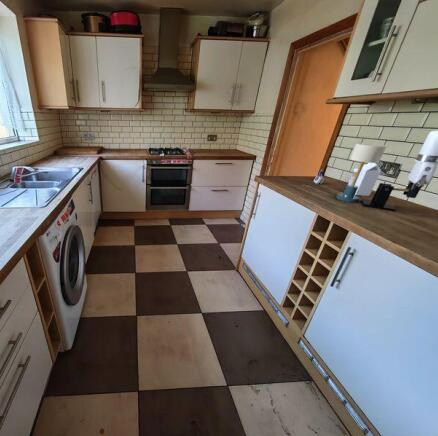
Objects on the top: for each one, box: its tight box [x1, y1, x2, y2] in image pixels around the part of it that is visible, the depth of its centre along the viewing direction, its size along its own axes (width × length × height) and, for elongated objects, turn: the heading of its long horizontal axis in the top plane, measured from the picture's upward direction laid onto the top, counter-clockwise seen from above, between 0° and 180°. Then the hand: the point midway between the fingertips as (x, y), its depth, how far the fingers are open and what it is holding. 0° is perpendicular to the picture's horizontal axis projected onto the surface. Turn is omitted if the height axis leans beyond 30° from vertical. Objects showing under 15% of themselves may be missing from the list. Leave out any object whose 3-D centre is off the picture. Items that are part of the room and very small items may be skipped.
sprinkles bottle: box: [347, 167, 359, 185], centre depth 144 cm, size 5×5×13 cm
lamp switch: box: [392, 187, 412, 192], centre depth 114 cm, size 13×4×4 cm, turn 58°
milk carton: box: [355, 162, 381, 197], centre depth 135 cm, size 7×7×19 cm
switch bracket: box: [359, 182, 396, 212], centre depth 118 cm, size 12×9×12 cm
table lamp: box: [335, 142, 387, 203], centre depth 123 cm, size 12×12×30 cm
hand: (409, 195), depth 113 cm, fingers closed on lamp switch, 3 cm apart
